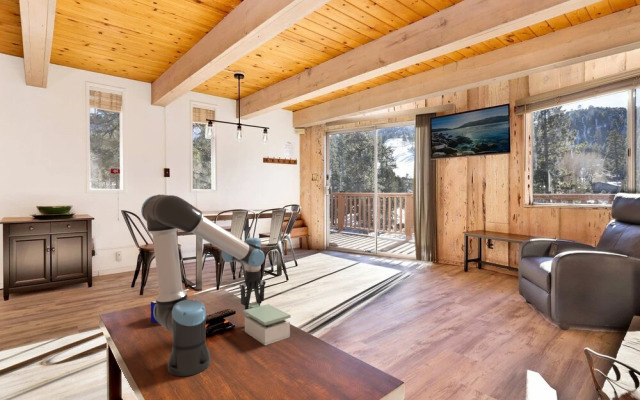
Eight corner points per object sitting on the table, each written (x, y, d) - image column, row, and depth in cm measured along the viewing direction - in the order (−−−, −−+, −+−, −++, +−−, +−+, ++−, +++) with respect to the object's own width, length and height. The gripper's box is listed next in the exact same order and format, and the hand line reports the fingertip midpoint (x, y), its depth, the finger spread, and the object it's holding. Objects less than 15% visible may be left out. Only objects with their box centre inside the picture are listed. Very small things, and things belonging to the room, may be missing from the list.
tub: (289, 336, 152) (289, 321, 151) (265, 345, 143) (265, 329, 143) (268, 324, 165) (268, 310, 165) (244, 331, 157) (244, 316, 156)
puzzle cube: (150, 321, 168) (150, 301, 167) (167, 314, 177) (167, 296, 176) (163, 325, 163) (163, 305, 163) (180, 318, 172) (180, 299, 172)
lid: (290, 319, 151) (290, 314, 151) (264, 327, 142) (264, 321, 142) (261, 305, 170) (261, 300, 170) (237, 311, 161) (237, 306, 161)
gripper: (263, 266, 171) (263, 311, 172) (233, 270, 160) (232, 319, 161) (271, 268, 165) (271, 315, 166) (240, 274, 154) (240, 324, 155)
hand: (252, 317), depth 163 cm, fingers closed on lid, 4 cm apart
